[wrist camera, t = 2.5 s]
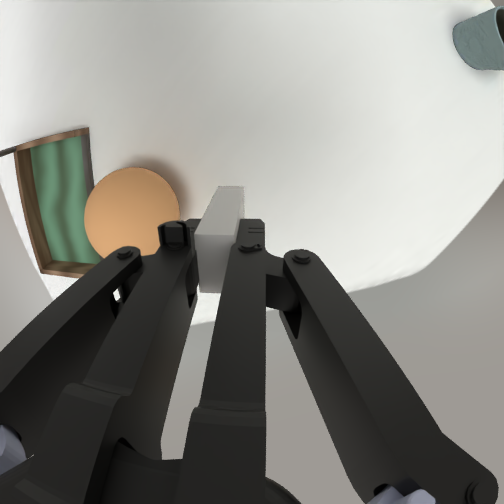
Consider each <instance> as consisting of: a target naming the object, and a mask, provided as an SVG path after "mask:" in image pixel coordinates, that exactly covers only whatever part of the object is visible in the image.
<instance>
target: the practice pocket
mask: <svg viewBox="0 0 504 504" xmlns="http://www.w3.org/2000/svg"><path fill="white" fill-rule="evenodd" d="M13 152H14V160H15V168H16V175H17V181H18V187H19V193H20V198H21V203H22V208H23V212H24V217H25V221H26V225H27V229H28V233H29V237H30V240H31V244H32V247H33V251H34V254H35V257H36V260H37V263H38V266H39V269H40V272H41V273H42V274H49V275H56V276H64V277H72V278H81V277H82V276H83V275H84V274H86V273H87V272H88V271H89V270H90V269H92V268H93V267H94V266H95V265H97V264H98V263H99V262H100V261H102V260H103V259H104V258H103V257H102V256H101V255H99V254H98V253H97V251H96V250H95V249H94V248H93V246H92V245H91V243H90V241H89V239H88V236H87V234H86V230H85V224H84V213H85V207H86V203H87V200H88V198H89V195H90V194H91V192H92V190H93V189H94V181H93V173H92V164H91V153H90V141H89V127H88V128H83V129H78V130H73V131H69V132H64V133H60V134H56V135H52V136H48V137H44V138H41V139H37V140H34V141H30V142H27V143H23V144H20V145H17V146H14V147H11V148H8V149H5V150H2V151H0V157H2V156H4V155H7V154H10V153H13Z"/></svg>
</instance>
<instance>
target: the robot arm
mask: <svg viewBox="0 0 504 504" xmlns="http://www.w3.org/2000/svg"><path fill="white" fill-rule="evenodd" d="M157 228H158V235H159V242H160V247H159V248H158V250H157V251H156V253H155V254H151V255H144V256H141V251H140V249H139V248H138V247H135V246H126V247H125V246H123V247H121V248H119V249H116V250H115V251H113V252H112V253H110V254H109V255H108V256H107V257H105V258H104V259H103V260H102V261H100V262H99V263H98V264H97V265H95V266H94V267H93V268H92V269H90V270H89V271H88V272H87V273H86V274H84V275H83V276H82V277H81V278H79V279H78V280H77V281H76V282H75V283H74V284H72V285H71V286H70V287H69V288H68V289H67V290H65V291H64V292H63V293H62V294H61V295H60V296H59V297H57V298H56V299H55V300H54V301H53V302H52V303H51V304H50V305H48V306H47V307H46V308H45V309H44V310H43V311H42V312H41V313H40V314H39V315H38V316H36V317H35V318H34V319H33V320H32V321H31V322H30V323H29V324H28V325H27V326H26V327H25V328H24V329H23V330H22V331H21V332H20V333H19V334H18V335H17V336H16V337H15V338H14V339H13V340H12V341H11V342H10V343H9V344H8V345H7V346H6V347H5V348H4V349H3V350H2V351H1V352H0V504H301V503H300V502H299V501H298V500H297V499H296V498H295V497H294V496H293V495H292V494H291V493H290V492H289V491H288V490H286V489H285V488H284V487H283V486H281V485H280V484H278V483H276V482H275V481H273V480H271V479H269V478H267V477H265V471H266V469H265V468H266V412H265V376H266V374H265V373H266V366H265V365H266V307H269V308H273V309H277V310H279V315H280V318H281V320H282V322H283V325H284V327H285V330H286V332H287V334H288V337H289V339H290V341H291V344H292V346H293V349H294V351H295V353H296V356H297V358H298V360H299V363H300V365H301V367H302V369H303V372H304V374H305V377H306V379H307V381H308V384H309V386H310V389H311V391H312V393H313V396H314V398H315V400H316V403H317V405H318V408H319V410H320V412H321V414H322V417H323V419H324V422H325V424H326V426H327V429H328V431H329V434H330V436H331V438H332V441H333V443H334V445H335V448H336V450H337V452H338V455H339V457H340V460H341V462H342V464H343V467H344V469H345V471H346V474H347V476H348V478H349V480H350V482H351V484H352V486H353V488H354V489H355V491H356V492H357V494H358V495H359V497H360V498H361V499H362V501H363V502H364V503H365V504H495V502H496V500H497V498H498V488H499V487H498V483H497V480H496V478H495V477H494V475H493V474H492V473H491V472H490V471H489V470H488V469H486V468H485V467H484V466H483V465H481V464H480V463H479V462H478V461H476V460H475V459H474V458H473V457H471V456H470V455H469V454H468V453H467V452H465V451H464V450H463V449H461V448H460V447H459V446H458V445H457V444H455V443H454V442H453V441H452V440H450V439H449V438H448V437H447V436H445V435H444V434H443V433H442V432H441V430H440V429H439V427H438V425H437V424H436V422H435V420H434V419H433V417H432V416H431V414H430V412H429V411H428V409H427V408H426V406H425V404H424V403H423V401H422V400H421V398H420V397H419V395H418V394H417V392H416V391H415V389H414V388H413V386H412V385H411V383H410V382H409V380H408V379H407V377H406V376H405V374H404V373H403V371H402V370H401V368H400V367H399V365H398V364H397V362H396V361H395V359H394V358H393V357H392V355H391V354H390V352H389V351H388V349H387V348H386V347H385V345H384V344H383V342H382V341H381V339H380V338H379V337H378V335H377V334H376V332H375V331H374V330H373V328H372V327H371V326H370V324H369V323H368V321H367V320H366V319H365V317H364V316H363V315H362V313H361V312H360V310H359V309H358V308H357V306H356V305H355V304H354V302H353V301H352V300H351V298H350V297H349V296H348V294H347V293H346V292H345V290H344V289H343V288H342V286H341V285H340V284H339V282H338V281H337V280H336V279H335V277H334V276H333V275H332V273H331V272H330V271H329V269H328V268H327V267H326V266H325V264H324V263H323V262H322V261H321V259H320V258H319V257H318V256H317V255H316V254H315V253H313V252H310V251H308V250H304V249H300V250H291V251H288V252H287V253H285V255H284V258H280V257H277V256H274V255H271V254H270V253H268V252H267V251H266V248H265V223H264V222H263V221H262V220H261V219H244V187H239V186H218V188H217V190H216V192H215V194H214V196H213V198H212V200H211V202H210V204H209V206H208V207H207V209H206V211H205V213H204V215H203V217H202V219H189V220H187V221H180V220H175V221H168V222H165V223H162V224H160V225H159V226H158V227H157ZM198 283H199V290H200V292H201V293H221V296H220V301H219V306H218V311H217V316H216V321H215V326H214V331H213V336H212V341H211V346H210V351H209V356H208V361H207V366H206V372H205V377H204V382H203V388H202V394H201V398H200V403H199V405H198V407H195V408H194V409H193V411H192V414H191V418H190V422H189V427H188V432H187V438H186V443H185V448H184V453H183V459H175V460H174V459H173V460H162V452H161V436H162V432H163V427H164V423H165V419H166V415H167V411H168V406H169V402H170V398H171V394H172V390H173V387H174V383H175V379H176V375H177V371H178V368H179V364H180V360H181V356H182V352H183V349H184V345H185V342H186V338H187V334H188V330H189V327H190V324H191V320H192V317H193V313H194V310H195V307H196V303H197V300H198V299H197V286H198ZM117 288H118V291H119V295H120V298H119V300H117V301H116V300H115V298H114V294H113V292H114V291H115V290H116V289H117ZM33 454H34V456H32V455H33ZM31 456H32V457H31ZM29 457H30V458H29ZM28 458H29V459H28Z"/></svg>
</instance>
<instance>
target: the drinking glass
mask: <svg viewBox="0 0 504 504" xmlns="http://www.w3.org/2000/svg"><path fill="white" fill-rule="evenodd" d="M453 40H454V44H455V47H456V49H457V51H458V53H459V55H460V56H461V57H462V59H463V60H464V61H465V62H466V63H467V64H468V65H469V66H471V67H473V68H475V69H478V70H486V69H489V70H504V6H498V7H495V8H493V9H490V10H488V11H486V12H484V13H481V14H479V15H477V16H475V17H472V18H470V19H468V20H466V21H464V22H461V23H458V24H457V25H456V26H455V28H454V29H453Z"/></svg>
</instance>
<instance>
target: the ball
mask: <svg viewBox="0 0 504 504" xmlns="http://www.w3.org/2000/svg"><path fill="white" fill-rule="evenodd" d="M175 220H180V212H179V205H178V201H177V198H176V195H175V193H174V191H173V190H172V188H171V187H170V185H169V184H168V183H167V182H166V181H165V180H164V179H163V178H162V177H161V176H159V175H158V174H156V173H154V172H152V171H150V170H147V169H144V168H138V167H129V168H123V169H119V170H116V171H114V172H112V173H110V174H108V175H107V176H105V177H104V178H103V179H102V180H100V181H99V182H98V183H97V185H96V186H95V187H94V189H93V190H92V192H91V194H90V195H89V198H88V200H87V203H86V207H85V213H84V224H85V230H86V234H87V236H88V239H89V241H90V243H91V245H92V246H93V248H94V249H95V250H96V251H97V253H98V254H99V255H101V256H102V257H103V258H105V257H107V256H108V255H109V254H110V253H112V252H113V251H115V250H116V249H119V248H121V247H123V246H125V247H126V246H135V247H138V248H139V249H140V251H141V256H144V255H151V254H155V253H156V251H157V250H158V248H159V247H160V242H159V235H158V228H157V227H158V226H159V225H160V224H162V223H165V222H168V221H175Z"/></svg>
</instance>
